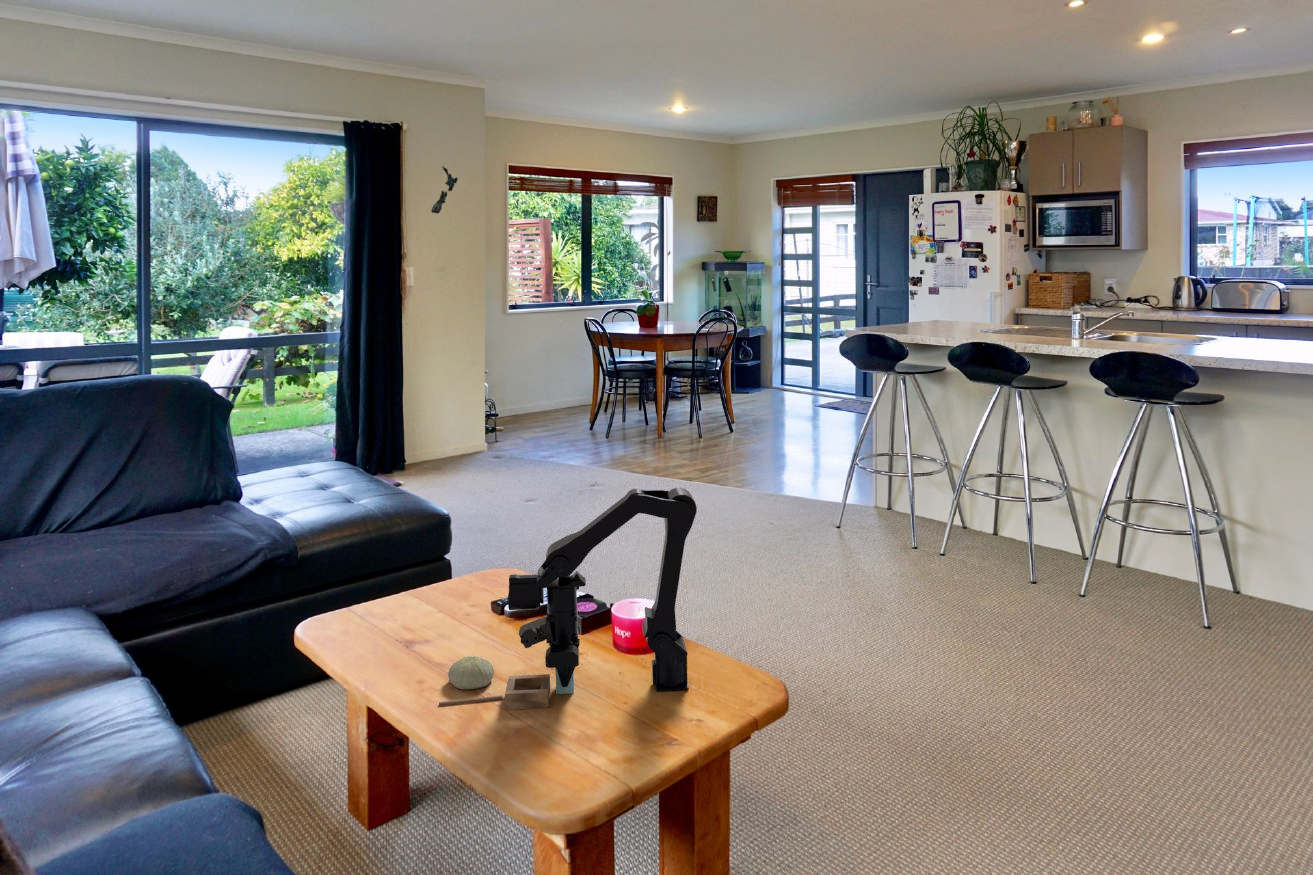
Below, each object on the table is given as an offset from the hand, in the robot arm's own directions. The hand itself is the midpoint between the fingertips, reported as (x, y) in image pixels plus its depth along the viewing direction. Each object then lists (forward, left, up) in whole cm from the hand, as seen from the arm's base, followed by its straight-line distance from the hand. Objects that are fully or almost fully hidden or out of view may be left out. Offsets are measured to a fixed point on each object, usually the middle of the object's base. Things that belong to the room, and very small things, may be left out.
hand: (565, 682), depth 185 cm
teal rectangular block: (0, 0, -2) cm, 2 cm away
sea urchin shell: (+19, -6, -2) cm, 20 cm away
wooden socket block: (+7, +3, -2) cm, 8 cm away
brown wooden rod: (+18, +3, -2) cm, 18 cm away
